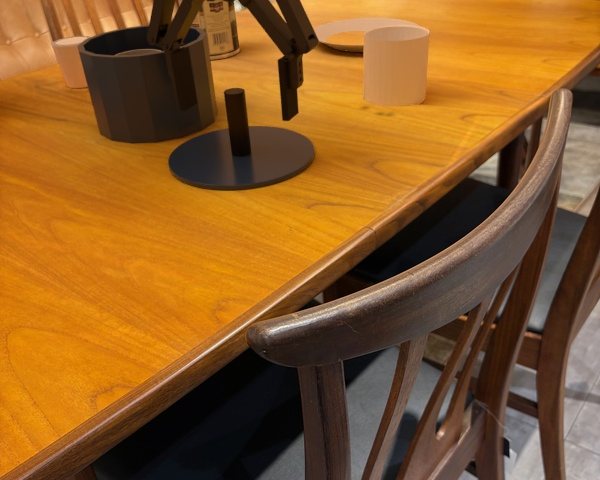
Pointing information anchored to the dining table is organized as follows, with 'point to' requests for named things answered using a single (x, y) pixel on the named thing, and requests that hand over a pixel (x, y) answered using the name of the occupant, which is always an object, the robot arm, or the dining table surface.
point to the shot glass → (70, 60)
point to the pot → (145, 87)
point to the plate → (353, 29)
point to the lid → (241, 153)
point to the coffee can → (218, 27)
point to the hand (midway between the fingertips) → (238, 111)
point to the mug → (395, 65)
